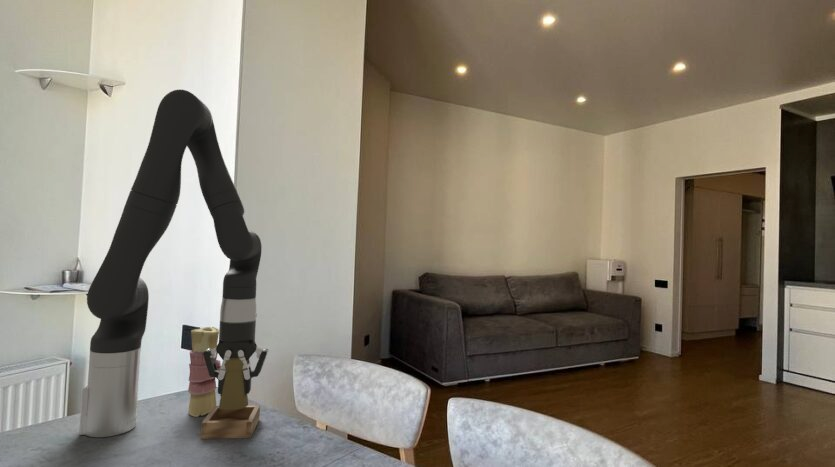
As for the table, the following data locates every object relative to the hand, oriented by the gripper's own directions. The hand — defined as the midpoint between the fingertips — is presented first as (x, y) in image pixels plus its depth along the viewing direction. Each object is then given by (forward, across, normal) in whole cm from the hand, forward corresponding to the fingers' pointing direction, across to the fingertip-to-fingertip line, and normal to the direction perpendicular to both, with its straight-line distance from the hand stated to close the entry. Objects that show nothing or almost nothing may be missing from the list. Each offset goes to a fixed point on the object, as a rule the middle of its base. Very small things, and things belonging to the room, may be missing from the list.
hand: (234, 395), depth 100 cm
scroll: (+7, -9, +11) cm, 16 cm away
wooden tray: (+7, 0, 0) cm, 7 cm away
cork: (+2, 0, 0) cm, 2 cm away
